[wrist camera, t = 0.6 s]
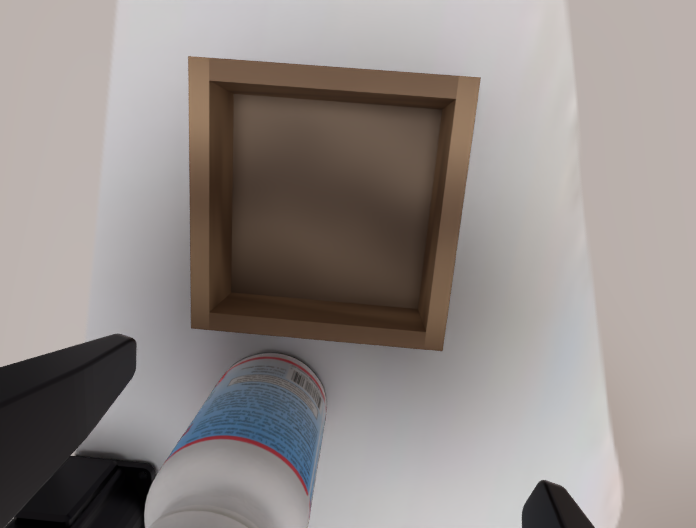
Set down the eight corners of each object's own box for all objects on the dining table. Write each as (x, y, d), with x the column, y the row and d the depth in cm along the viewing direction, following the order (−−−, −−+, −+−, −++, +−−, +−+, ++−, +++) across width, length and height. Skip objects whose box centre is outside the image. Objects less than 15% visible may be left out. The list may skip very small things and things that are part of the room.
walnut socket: (438, 329, 22) (452, 362, 18) (211, 309, 22) (180, 338, 18) (471, 83, 19) (496, 64, 15) (211, 64, 19) (175, 40, 16)
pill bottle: (206, 359, 23) (58, 536, 12) (314, 339, 22) (262, 506, 11) (236, 454, 24) (127, 693, 13) (338, 438, 24) (313, 672, 13)
